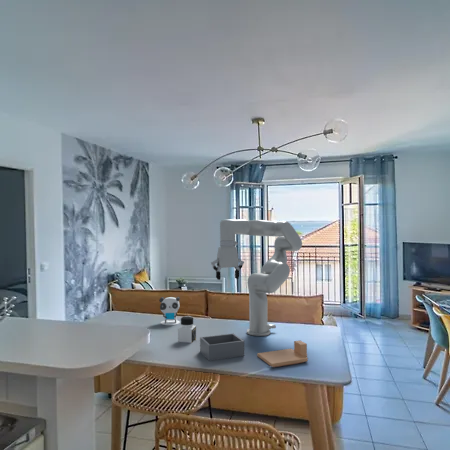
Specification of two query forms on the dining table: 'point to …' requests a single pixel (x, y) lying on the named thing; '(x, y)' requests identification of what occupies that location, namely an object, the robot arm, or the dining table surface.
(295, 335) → the dining table surface
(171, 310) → the panda figurine
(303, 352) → the lid
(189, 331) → the medicine bottle
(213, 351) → the grey tray
